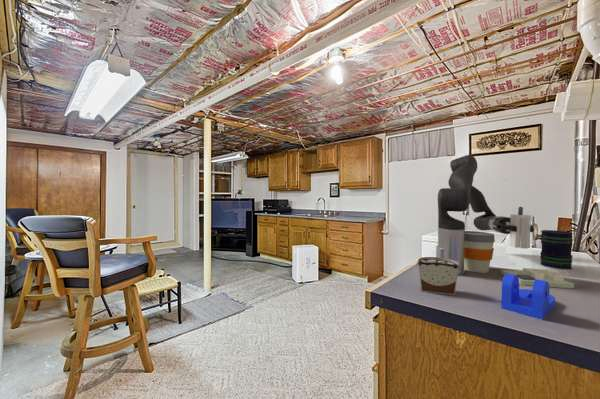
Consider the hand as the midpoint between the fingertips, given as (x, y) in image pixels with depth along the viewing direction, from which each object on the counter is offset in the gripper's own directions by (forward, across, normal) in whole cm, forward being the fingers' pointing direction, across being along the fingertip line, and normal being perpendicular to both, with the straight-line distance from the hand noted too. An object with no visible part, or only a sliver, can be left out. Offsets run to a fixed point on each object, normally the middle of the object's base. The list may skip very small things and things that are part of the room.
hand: (524, 229), depth 104 cm
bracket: (+36, -16, +18) cm, 43 cm away
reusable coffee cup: (0, -17, +17) cm, 24 cm away
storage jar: (-14, +19, +17) cm, 29 cm away
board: (+11, -2, +17) cm, 20 cm away
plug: (-3, 0, +8) cm, 8 cm away
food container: (+29, -39, +18) cm, 52 cm away
